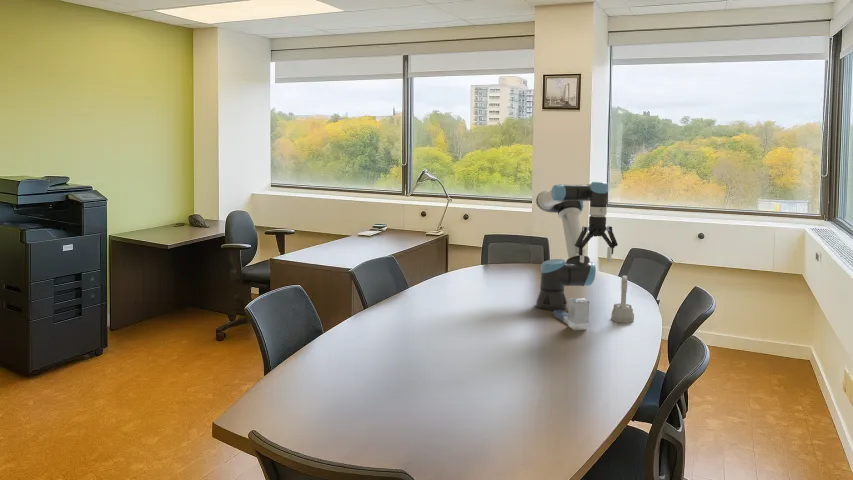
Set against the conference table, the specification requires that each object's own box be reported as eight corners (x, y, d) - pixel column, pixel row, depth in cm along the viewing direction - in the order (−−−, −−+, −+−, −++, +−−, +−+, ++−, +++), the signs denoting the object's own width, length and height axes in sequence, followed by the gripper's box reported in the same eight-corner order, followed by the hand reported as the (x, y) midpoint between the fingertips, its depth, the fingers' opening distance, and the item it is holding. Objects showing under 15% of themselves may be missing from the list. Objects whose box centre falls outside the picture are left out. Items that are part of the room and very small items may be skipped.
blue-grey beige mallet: (551, 315, 309) (552, 300, 308) (563, 315, 310) (564, 299, 309) (574, 330, 286) (574, 313, 285) (586, 329, 287) (587, 312, 286)
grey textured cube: (567, 319, 291) (568, 298, 290) (581, 319, 293) (582, 297, 291) (574, 323, 285) (575, 301, 284) (588, 323, 287) (589, 301, 285)
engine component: (612, 321, 300) (634, 323, 298) (614, 277, 297) (637, 279, 295) (610, 315, 311) (632, 317, 309) (612, 273, 307) (635, 274, 305)
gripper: (576, 217, 291) (574, 264, 295) (626, 216, 297) (624, 262, 300) (568, 215, 299) (566, 261, 302) (618, 214, 304) (616, 259, 308)
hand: (595, 262), depth 301 cm, fingers open, 13 cm apart
